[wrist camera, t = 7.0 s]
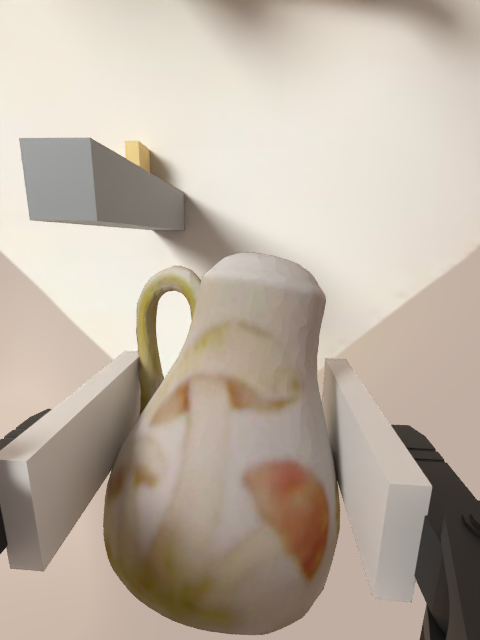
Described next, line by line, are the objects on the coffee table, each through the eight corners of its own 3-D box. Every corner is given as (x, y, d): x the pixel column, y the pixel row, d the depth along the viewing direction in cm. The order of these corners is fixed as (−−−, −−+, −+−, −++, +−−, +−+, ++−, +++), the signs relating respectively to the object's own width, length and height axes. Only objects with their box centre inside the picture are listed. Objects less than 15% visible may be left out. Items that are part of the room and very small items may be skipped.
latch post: (137, 149, 26) (-18, 40, 12) (182, 149, 26) (81, 38, 12) (141, 229, 28) (8, 219, 13) (184, 230, 28) (97, 220, 13)
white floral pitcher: (362, 243, 12) (573, 598, 5) (269, 392, 18) (300, 643, 11) (155, 186, 10) (2, 603, 3) (130, 372, 17) (60, 653, 9)
